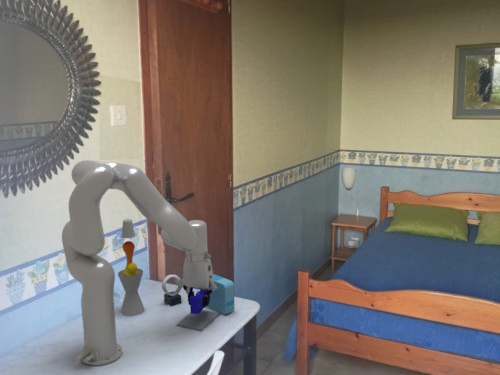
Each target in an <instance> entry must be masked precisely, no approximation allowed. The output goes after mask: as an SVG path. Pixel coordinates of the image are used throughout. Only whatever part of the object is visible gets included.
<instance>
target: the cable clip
mask: <svg viewBox="0 0 500 375" xmlns="http://www.w3.org/2000/svg"><path fill="white" fill-rule="evenodd" d="M209 289H210V285H209ZM203 296H204V294H203V291H202V289H200V290H198V291H196V293H195V294H194V296H193V295H191V296H190V305H189V306H190V313H191V314H199V313H200V312H201V311H202V310H204V309H205V308H204V307H203ZM209 301H210V295H209Z"/></svg>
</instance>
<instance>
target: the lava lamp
mask: <svg viewBox="0 0 500 375" xmlns="http://www.w3.org/2000/svg"><path fill="white" fill-rule="evenodd" d="M135 237H136V232H135V228H134V224H133V220H132V219H131V218H125V219H123V220H122V229H121V238H122V239H132V238H135ZM122 251H123V252H124V254H125V257H126V265H125V267H124V269H122V270H120V271H119V272H117V275H118V278H119V280H120V283H121V285H122V287H123V289H124V291H125V293H124V297H123V301H122V306H121V309H120V313H122V314H121V315H123V316H126V315H127V317H132V316H133V315H134V316H137V315H141V314H142V313H144V312H145V307H144V304H143V302H142V299H141V296H140V294H139V288H140V283H141V281H142V277H143V274H144V271H143V270H142V269H141V268H138V265H137V264H136V263H135V262H133V256H134V251H135V243H134V242H133V241H130V240H127V241H125V242H124V243H123V245H122Z"/></svg>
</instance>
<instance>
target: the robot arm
mask: <svg viewBox="0 0 500 375" xmlns="http://www.w3.org/2000/svg"><path fill="white" fill-rule="evenodd" d="M71 178H72V181H73V182H74V184H75V187H74V188H73V190H72V192H71V194H70V197H69V199H68V200H69V201H68V214H69V221H67V222H66V224H65V225H64V226H63V228H62V231H61V243H62V248H63V252H64V257H65V263H66V266H67V270H68V272H69V275H71V277H72V278H74V280H76V281H77V282H78V283H80V285H81V286H82V291H81V292H82V293H81V298H80V304H81V305H80V308H81V317H82V318H81V320H82V329H83V330H82V331H83V342H84V344H83V345H84V346H82V348H81V349H82V350H81V352H80V353H79V355H76V356H75V357H74V359H73V360H74V362H75V364H80V363H81V362H82V363H83V364H85V365H89V366H104V365H107V364H111V363H113V362H114V361H117V360H118V359H119V358H121V356H122V354H123V347H122V346H121V344H119V343H118V342H117V328H116V314H115V313H116V312H115V311H116V310H115V300H114V299H115V298H114V296H115V295H114V292H115V291H114V290H115V289H114V288H115V281H116V275H115V269H114V268H113V265H112V264H111V263H110V262H109V261H108V260H107V259H105V258H103V257H102V256H100V255H98V254H99V253H101V252H102V251H103V250H104V247H105V244H106V243H105V242H106V240H105V233H104V228H103V222H102V217H101V208H100V205H101V201H102V198H103V197H104V195H105V194H106V193H107V192H108V190H117V191H121V192H123V193H124V194H125V196H126V197H127V198H128V199H129V200H130V202H131V203H132V204H133V205H134V206H135V208H136V209H137V211H139V213H140V214H141V215H142V216H143V217H144V218H146V219H147V220H149V222H151V223H153V224H155V225H156V226H158V227H159V228H161V231H160V238H161V240H162V241H163V243H165V244H167V245H168V246H171V247H173V248H175V249H177V250H180V251H183V252H185V259H184V261H183V268H182V269H183V270H182V271H183V272H182V278H180V279H181V280H180V282H179V284H180V285H181V286H182V288H183V290H184V291H185V293H186V295H187V302H188V306H190V296H191V295H193V296H195V290H194V289H202V291H203V294H204V296H203V307H204V308H203V309H205V308H207V307H206V306H207V305H208V304H209V295H210V294H211V293H212V292H213V291H214V290H216V289H217V286H216V284H215V283H214V282H213V275H214V272H213V266H212V260H211V257H212V255H211V254H209V250H208V227H207V223H206V221H203V220H200V219H192V220H189V221H188V220H187V219H186V218H185V216H184V215H182V213H180V211H178V210H177V209H176V208H175V207H174V206H173V205H172V204H171V203H169V201H168V200H166V198H164V196H163V195H162V194H161V192H160V191H159V190H158V189H157V188H156V186H155V185H154V184H153V183H152V181H151V180H150V179H149V177H148V176H147V174H146V173H145V172H144V171H143V170H141V168H139V167H137V166H134V165H130V164H125V163H119V162H107V161H97V160H96V161H95V160H89V159H85V160H81V161H78V162H77V163H76V164H75V165H74V166H73V167H72V169H71ZM209 285H210V286H211V287H212V288H211V289H209Z"/></svg>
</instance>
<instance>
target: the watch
mask: <svg viewBox="0 0 500 375" xmlns="http://www.w3.org/2000/svg"><path fill="white" fill-rule="evenodd" d="M171 278H172V280H173V282H174V283H175V284H176V285H177V288H176V289H175V291H168V290H167V287H166V283H167V282H168V281H169V280H170V279H171ZM181 279H182V278H180V277H179V276H178V275H176V274H168V275H166V276H165V277H164V278H163V280H162V282H161V288H162V290H163V292H164V293H163V302H164V303H166V304H167V305H169V306H170V307H174V306H176V305H177V306H178V305H180V304H182V296H181V295H180V292H181V291H182V288H183V287H182V286H181V285H180V284H179V282H180V280H181Z"/></svg>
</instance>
